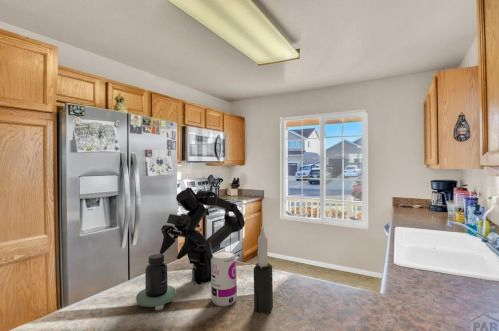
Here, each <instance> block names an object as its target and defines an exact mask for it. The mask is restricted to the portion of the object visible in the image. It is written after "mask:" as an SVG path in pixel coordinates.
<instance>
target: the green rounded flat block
mask: <svg viewBox="0 0 499 331" xmlns="http://www.w3.org/2000/svg"><path fill="white" fill-rule="evenodd" d="M176 294H177V293H176V288H175V287H173V286H172V285H168V289H167V292H166V294H164V295H162V296H160V297H154V298H152V297H148V296H146V293H145V288H143V289H142V290H140V291H138V293H137V294H136V297H135V298H136V299H135V301H136V304H137V305H138V306H141V307H144V308H147V307H148V308H154V310H155V311H162V310H163V309H164V308H165V307H164V306H165V304H167V303H169V302H171V301H172V300H174V299H175V298H176Z"/></svg>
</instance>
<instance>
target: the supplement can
mask: <svg viewBox="0 0 499 331" xmlns="http://www.w3.org/2000/svg"><path fill="white" fill-rule="evenodd" d="M212 255H213V257H212V259H211V281H210V282H211V284H210V285H211V286H210V287H211V296H210V297H211V302H212V303H213V304H214V305H215V306H219V307H228V306H231V305H233V304H234V303H235V302H236V301H237V299H238V292H237V291H238V289H237V288H238V286H237V284H238V283H237V281H238V280H237V276H238V275H237V274H238V273H237V257H236V255H235V253H234V252H232V251H226V250H225V251H222V250H221V251H217V252H214V253H212Z"/></svg>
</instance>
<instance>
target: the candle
mask: <svg viewBox="0 0 499 331" xmlns="http://www.w3.org/2000/svg"><path fill="white" fill-rule="evenodd" d="M260 229H261V231H260V234H259V236H258V237H257V262H256V263H255V266H254V267H253V310H254V312H255V313H263V314H266V315H267V314H270V313H271V312H272V311H273V308H274V303H273V302H274V300H273V299H274V297H273V294H274V293H273V291H274V288H273V283H274V282H273V281H274V280H273V265H272V264H270V263H269V262H268V258H269V256H268V253H269V252H268V237H267V236H266V233H265V230H264V227H263V226H261V228H260Z"/></svg>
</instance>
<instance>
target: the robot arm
mask: <svg viewBox="0 0 499 331" xmlns="http://www.w3.org/2000/svg"><path fill="white" fill-rule="evenodd" d="M175 200H176V202H178V204H179V205H180V206H181V207H182V209H184V210H185V211H186V212H187V213H186V214H185V213H182V214H172V213H169V215H168V217H167V221H166V224H164V225H162V227H161V228H160V231H161V234H162V236H163V240H162V243H161V246H160V250H159V254H163V255H164V253H165V252H166V251H167V250H169V249H170V247H171V246H172V245H174V243H175V242H176V241H177V240H176V239H178V237H180V238H184V243H183V244H182V246H181V248H180V249H179V251H178V253H177V256H176V259H177V260H181V259H182V258H183V257H185V256H186V255H187V259H188V261H189V264H190V265H192V268H191V279H192V281H194V282H195V284H197V285H201V284H205V283H208V282H211V259H212V257H213V250H215V249H216V248H217V247H218V246H219V245H220V244H221V243H223V241H225V239H227V238H228V237H229V236H230V235H231V234H233V233H237V232H240V231H241V230H243V229H244V227H245V224H246V222H245V217H244V214H243V213H242V212H241V210H240V209H239V208H238V205H237V204H236V203H234V202H232V201H229V200H226V199H224V198H221V197H219V196H218V194H217V193H216V192H214V191H213V190H198V191H197V192H196V193H195V192H194V190H193V188H192V187H186V188H185V189H184V190H182V191H181V190H180V192H178V193H177V195H176V198H175ZM205 206H209V207H214V208H218V209H220V210H222V211H224V216H223V219H224V223H223V225H222V226H220V227H219V229H217V230H216V231H215V232H213V233H212V234H211V235H210V236H209V237H207V238H206V237H205V235H203V234H202V232H201V231H199V230H197V228H198V229H200V227H201V225H200V222H201V220H202V219H203V218H204V216H206V217H207V216H208V217H209V216H210V212H209V208H207V207H205ZM230 213H233V215H230ZM170 224H171V225H170ZM173 225H174V226H173Z"/></svg>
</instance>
